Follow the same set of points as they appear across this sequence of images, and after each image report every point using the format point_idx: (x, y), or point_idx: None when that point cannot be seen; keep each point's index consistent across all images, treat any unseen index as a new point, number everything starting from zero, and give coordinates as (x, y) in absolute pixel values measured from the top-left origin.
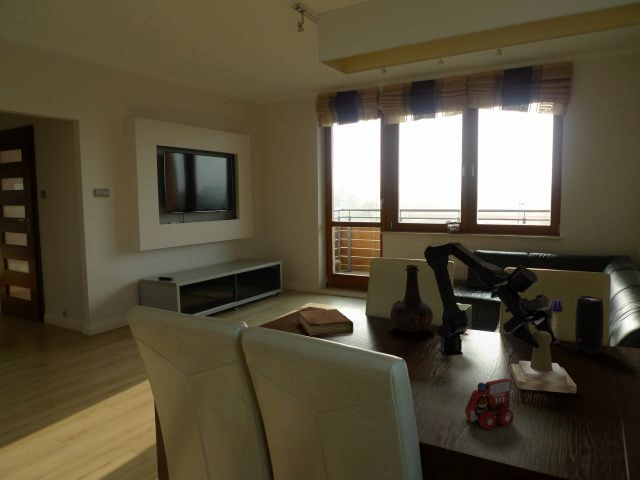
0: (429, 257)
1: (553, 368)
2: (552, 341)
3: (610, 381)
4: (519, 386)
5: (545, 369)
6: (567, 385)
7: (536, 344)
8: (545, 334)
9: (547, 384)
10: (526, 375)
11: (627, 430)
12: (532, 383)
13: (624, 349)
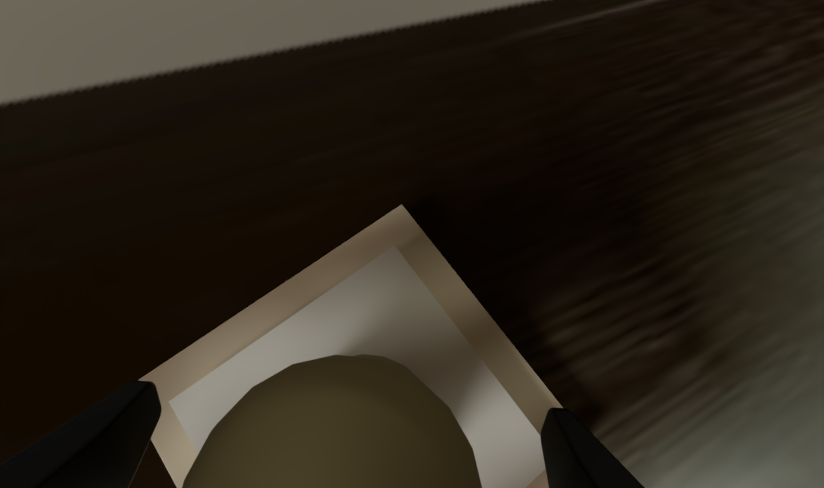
0: None
1: None
2: (151, 427)
3: (104, 169)
4: None
5: (414, 375)
6: (428, 238)
7: (587, 439)
8: (396, 425)
9: (491, 320)
10: None
11: (578, 7)
12: (544, 388)
13: None
